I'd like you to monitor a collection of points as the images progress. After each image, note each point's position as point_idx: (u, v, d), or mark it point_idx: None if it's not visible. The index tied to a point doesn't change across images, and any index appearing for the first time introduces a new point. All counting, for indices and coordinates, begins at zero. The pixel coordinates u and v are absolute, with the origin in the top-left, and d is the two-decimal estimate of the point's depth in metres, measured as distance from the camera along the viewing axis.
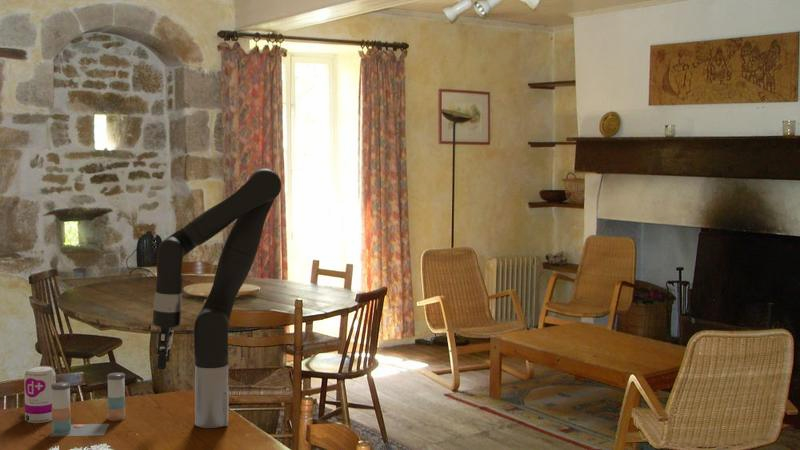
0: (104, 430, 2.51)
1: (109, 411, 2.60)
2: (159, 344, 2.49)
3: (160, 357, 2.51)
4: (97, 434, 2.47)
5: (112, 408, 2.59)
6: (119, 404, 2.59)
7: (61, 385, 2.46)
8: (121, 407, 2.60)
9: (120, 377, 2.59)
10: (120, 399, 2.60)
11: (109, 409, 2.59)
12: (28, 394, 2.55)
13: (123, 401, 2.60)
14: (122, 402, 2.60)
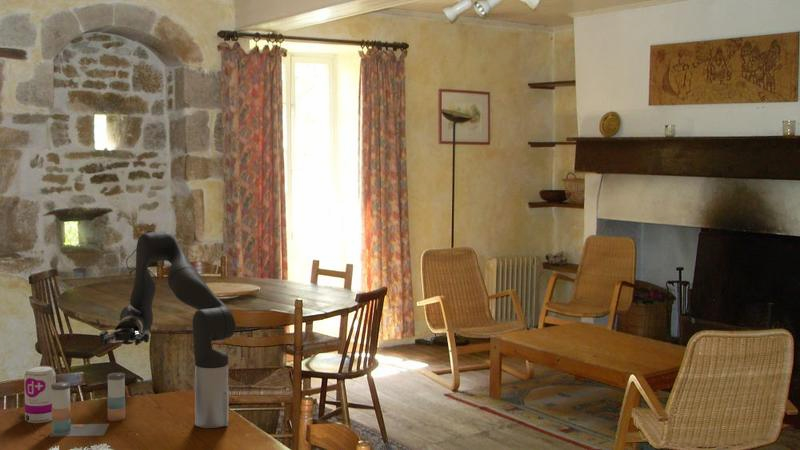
0: (104, 430, 2.51)
1: (109, 411, 2.60)
2: None
3: None
4: (97, 434, 2.47)
5: (112, 408, 2.59)
6: (119, 404, 2.59)
7: (61, 385, 2.46)
8: (121, 407, 2.60)
9: (120, 377, 2.59)
10: (120, 399, 2.60)
11: (109, 409, 2.59)
12: (28, 394, 2.55)
13: (123, 401, 2.60)
14: (122, 402, 2.60)
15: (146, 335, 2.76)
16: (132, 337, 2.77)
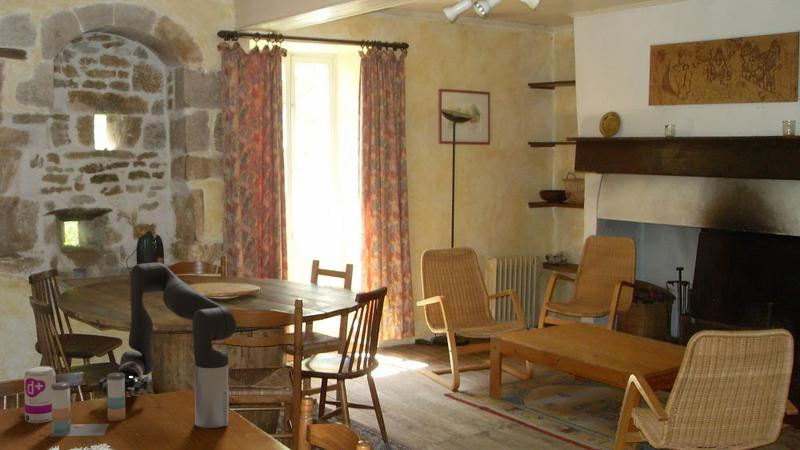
0: (104, 430, 2.51)
1: (109, 411, 2.60)
2: None
3: None
4: (97, 434, 2.47)
5: (112, 408, 2.59)
6: (119, 404, 2.59)
7: (61, 385, 2.46)
8: (121, 407, 2.60)
9: (120, 377, 2.59)
10: (120, 399, 2.60)
11: (109, 409, 2.59)
12: (28, 394, 2.55)
13: (123, 401, 2.60)
14: (122, 402, 2.60)
15: (145, 382, 2.73)
16: (131, 384, 2.74)
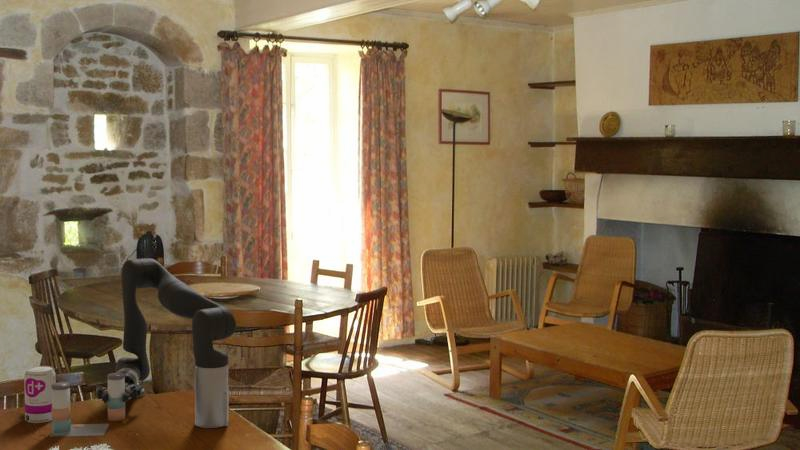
0: (104, 430, 2.51)
1: (109, 411, 2.60)
2: (97, 394, 2.65)
3: None
4: (97, 434, 2.47)
5: (112, 408, 2.59)
6: (119, 403, 2.59)
7: (61, 385, 2.46)
8: (121, 407, 2.60)
9: (120, 377, 2.59)
10: (120, 399, 2.60)
11: (109, 409, 2.59)
12: (28, 394, 2.55)
13: None
14: (122, 402, 2.60)
15: (135, 391, 2.63)
16: None
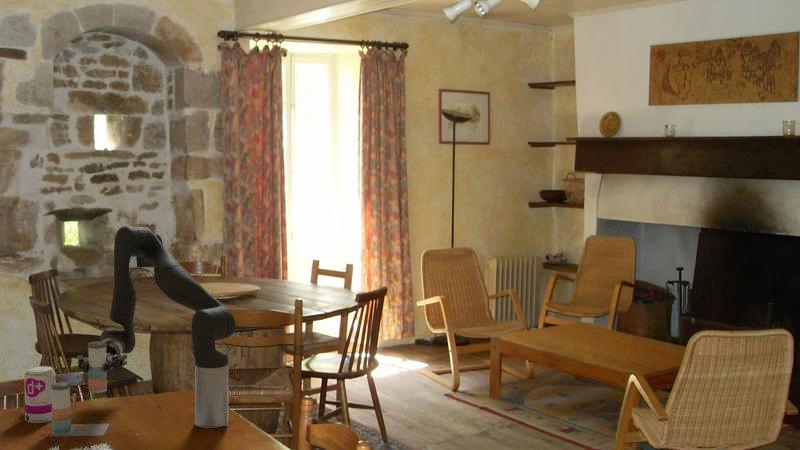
0: (104, 430, 2.51)
1: (90, 381, 2.50)
2: (78, 364, 2.56)
3: None
4: (97, 434, 2.47)
5: (93, 378, 2.50)
6: (100, 373, 2.50)
7: (61, 385, 2.46)
8: (102, 377, 2.51)
9: (101, 346, 2.50)
10: (101, 369, 2.50)
11: (90, 379, 2.50)
12: (28, 394, 2.55)
13: None
14: (103, 372, 2.51)
15: (117, 360, 2.54)
16: None
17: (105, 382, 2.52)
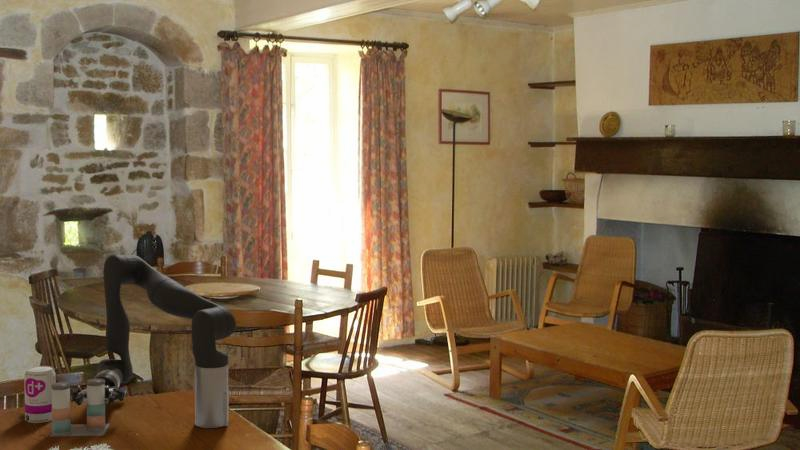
0: (104, 430, 2.51)
1: (88, 419, 2.50)
2: None
3: None
4: (97, 434, 2.47)
5: (92, 416, 2.50)
6: (98, 411, 2.50)
7: (61, 385, 2.46)
8: (101, 414, 2.51)
9: (100, 383, 2.50)
10: (100, 406, 2.50)
11: (88, 416, 2.50)
12: (28, 394, 2.55)
13: (103, 408, 2.51)
14: (102, 409, 2.51)
15: (121, 393, 2.55)
16: (106, 395, 2.56)
17: (103, 419, 2.52)
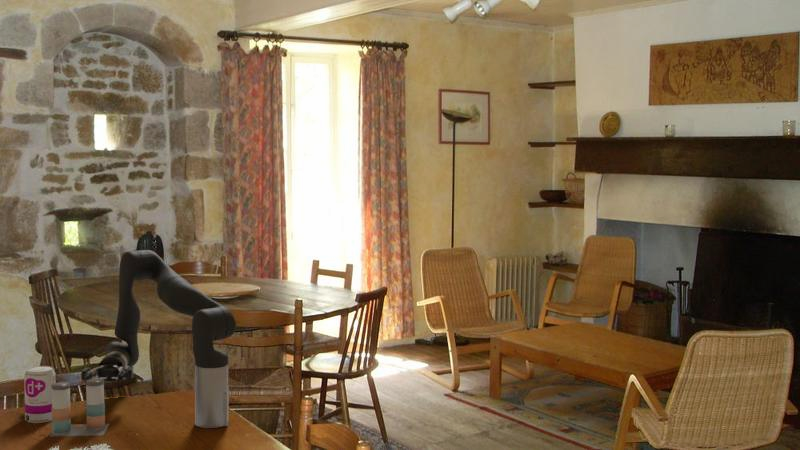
0: (104, 430, 2.51)
1: (88, 419, 2.50)
2: None
3: None
4: (97, 434, 2.47)
5: (91, 416, 2.50)
6: (98, 411, 2.50)
7: (61, 385, 2.46)
8: (100, 414, 2.51)
9: (99, 383, 2.49)
10: (99, 406, 2.50)
11: (88, 417, 2.50)
12: (28, 394, 2.55)
13: (102, 408, 2.51)
14: (101, 409, 2.51)
15: (129, 371, 2.67)
16: (115, 374, 2.69)
17: (103, 419, 2.52)
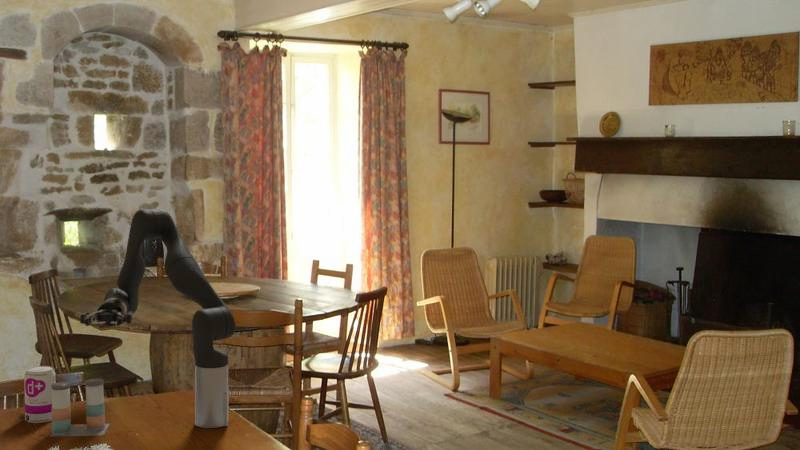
0: (104, 430, 2.51)
1: (88, 419, 2.50)
2: None
3: None
4: (97, 434, 2.47)
5: (91, 416, 2.50)
6: (97, 411, 2.50)
7: (61, 385, 2.46)
8: (100, 414, 2.50)
9: (98, 383, 2.49)
10: (99, 407, 2.50)
11: (88, 417, 2.50)
12: (28, 394, 2.55)
13: (102, 408, 2.51)
14: (101, 409, 2.51)
15: (129, 316, 2.66)
16: (114, 318, 2.67)
17: (103, 419, 2.52)
